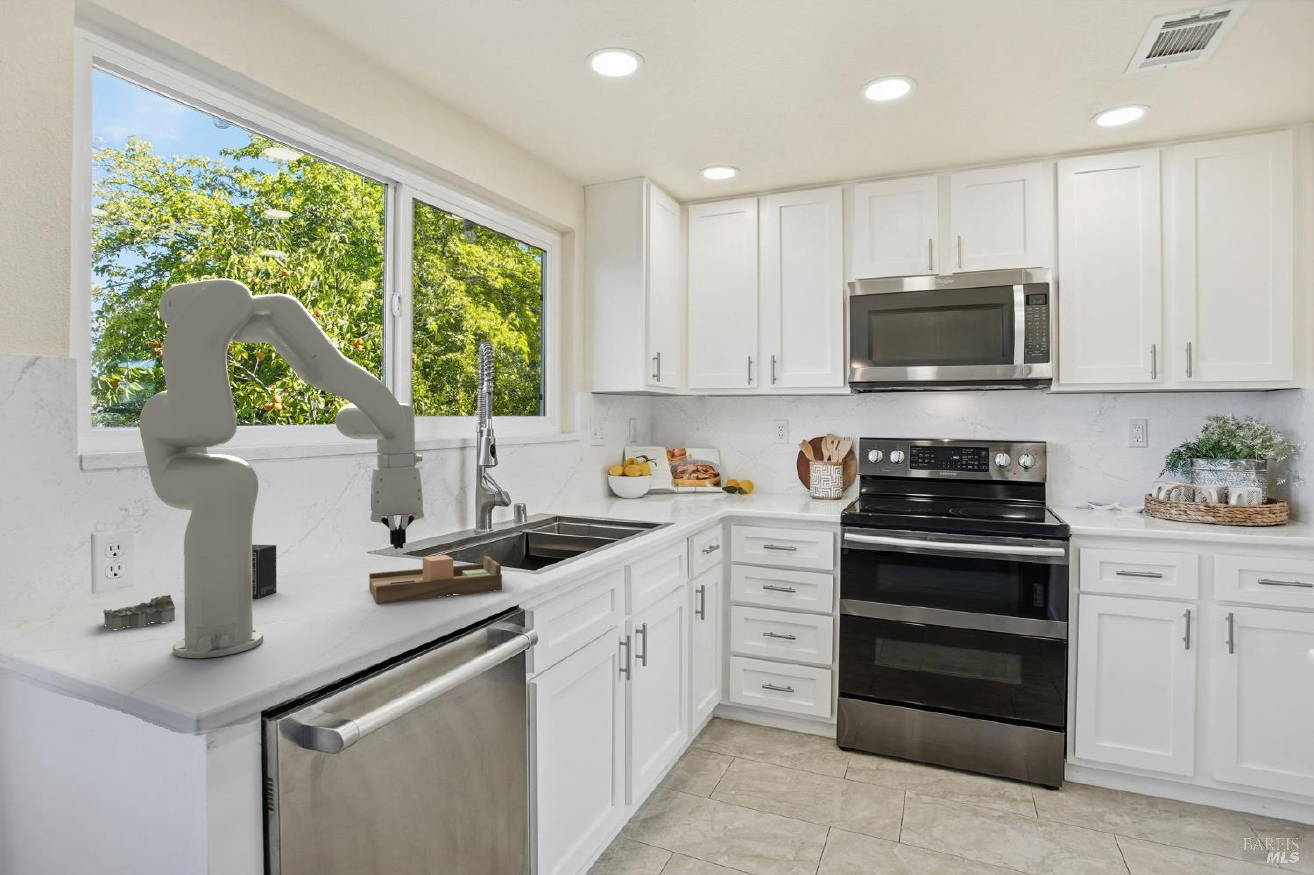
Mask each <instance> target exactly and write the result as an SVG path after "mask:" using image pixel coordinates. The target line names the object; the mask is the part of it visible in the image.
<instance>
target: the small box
mask: <svg viewBox="0 0 1314 875" xmlns="http://www.w3.org/2000/svg"><path fill="white" fill-rule="evenodd" d="M274 593H277V544H252V599H260V598H263V597H265V596H269V595H271V594H274Z"/></svg>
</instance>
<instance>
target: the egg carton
mask: <svg viewBox="0 0 1314 875" xmlns="http://www.w3.org/2000/svg"><path fill="white" fill-rule="evenodd" d="M176 609H177V608H176V606H175V604H174V601H173V598H172V597H171V594H168V595H161V596H157V597H154V598H151V599H150V601H149V602H141V603H140V604H136V605H133V606H125V607H120V608H118V609H114V610H112V608H110V609H104V610H103V611H102V612H103V616H104V627H105V628H104V629H121V630H123V629H124V628H123V627H125V628H128V627H127V626H131V627H137V626H142V627H145V626H144V625H146V624H148V623H151V622H161V623H162V622H168V621H169V622H171V621H170V620H172V621H175V619H176V616H175V614H176V612H175V610H176ZM169 622H168V623H169ZM161 623H160V624H161ZM151 624H152V623H151ZM162 624H163V623H162ZM105 625H106V626H105ZM148 625H149V624H148ZM146 626H147V625H146ZM122 628H123V629H122Z"/></svg>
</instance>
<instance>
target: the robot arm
mask: <svg viewBox="0 0 1314 875" xmlns="http://www.w3.org/2000/svg"><path fill="white" fill-rule="evenodd" d="M158 301H159V302H158V310H159V314H160V317H161V318H162V321H163V322H164V323H165V324H166V326H168V327H169V328H168V330H167V332H166V334H165V337H164V341H163V346H162V354H161V355H162V365H163V374H164V379H165V380H164V381H165V387H166V390H162V391H160V392H157V393H156V394H154V395H152V396H151V397H149V398H148V399H147V401H145V403H144V405H143V407H142V410H140V411H141V412H140V416H139V432H140V438H141V442H142V446H143V451H144V452H143V453H144V454H145V455H144V456H145V460H146V463H147V464H146V466H147V468H148V469H147V470H148V473H149V477H150V478H149V479H150V481H151V484H152V487H153V489H154V492H155V494H156V496H157V497H158V499H160V501H161V502H163V503H164V504H166V505H167V506H169V507H171V508H174V509H178V510H184V511H185V510H186V511H190V512H191V513H190V516H189V518H188V522H187V525H186V528H185V532H184V538H183V556H184V559H183V561H184V563H183V564H184V568H183V569H184V572H183V573H184V574H183V578H184V584H183V585H184V588H183V589H184V637H183V638H181V639H179V640H178V641H176V642H175V643H174V644H173V646H172V654H174V655H175V656H177V657H180V658H185V659H206V658H216V657H217V658H218V657H222V656H223V657H224V656H229V655H235V654H238V653H241V652H245V651H249V650H251V649H253V648H254V649H255V648H256V647H258V646H259V645H260V644H262V642H263V641H264V634H263V632H262V631H260V630H258V629H254V628H253V623H254V622H253V598H252V545H253V525H254V522H253V521H254V514H255V509H256V503H257V499H258V496H259V495H258V494H259V479H258V475H257V473H256V471H255V469H254V468H253V466H251V464H250V463H248V462H247V461H245V460H243V459H242V458H239V457H237V456H234V455H228V454H219V453H218V454H215V453H208V450H207V448H215V447H220V446H222V445H225V444H226V443H229V441H231V440H232V439H233V438H234V436H235V434H236V433H237V428H238V422H237V421H238V420H237V413H236V408H235V403H234V398H233V392H232V388H231V384H230V383H231V382H230V379H229V378H230V377H229V371H228V362H227V361H228V360H227V356H228V350H229V346H230V345H231V342H232V343H233V342H234V343H245V344H261V343H263V344H264V343H269V344H270V345H271V346H272V347H273V348H274V350H276V352H277V353H278V354H279V355H280V356H281V357H282V359H283V360H284V361H285V362H286V363H287V364H288V365H289V367H290V368H291V369H292V371H294V372H295V374H296V375H297V376H298V377H299V378H300V380H302V382H304V383H306V384H307V385H309V386H311V387H314V388H316V389H318V390H321V391H324V392H327V393H330V394H333V395H335V396H337V397H340V398H342V399H344V400H346V401H347V402H349V403H347V404H346V405H343V406H342V407H341V408H340V409H339V410H338V411H337V413H336V416H335V427H336V429H337V430H338V432H339V433H340V434H342V435H343V436H345V437H347V438H348V439H353V440H369V441H370V440H376V449H377V450H376V452H377V454H376V456H377V458H376V459H377V460H376V462H377V464H376V465H377V467H374V468H373V470H372V476H371V488H370V508H371V509H370V511H371V514H370V521H371V522H374V523H380V524H383V525H384V526H386V527H387V528H388V529H389V542H390V545H391V546H392V545H393V546H392V547H393V548H394V549H395V550H397V549H404V544H406V543H407V533H406V530H407V529H408V527H409V526H410V525H411V524H412V523H413V522H414V521H416V520H421V519H423V518H424V517H425V513H424V496H423V488H422V487H423V486H422V479H421V478H422V477H421V474H420V468H419V467H418V466H416V465H417V463H419V462H420V463H421V462H423V455H419V454H417V453H416V438H415V435H416V434H415V432H416V431H415V430H416V429H415V426H416V425H415V409H414V407H413V406H412V404H409V403H404V402H402V403H400V402H399V401H398V400H397V398H396V397H395V395H394V394H393V393H392V391H390V390H391V389H389V388H388V387H387V386H386V384H385V383H384V382H383V381H381V380H380V379H379V378H378V377H376V376H375V375H374V374H373V373H371V372H369V371H368V370H366V369H365V368H364V367H362V366H361V365H359V364H358V363H357V362H354V361H353V360H351V359H349V358H348V357H346V356H345V355H344V354H343V353H342V352H341V351H340V350H339V349H338V348H337V347H336V345H335V344H334V342H333V341H332V340H331V339H330V337H329V336H328V334H327V333H325V331H324V330H323V329H322V327H321V326H320V324H319V323H317V321H316V320H315V318H314V317H313V315H311V313H310V312H309V311H308V310H307V308H306V307H305V306H304V305H303V304H302V302H300V301H299V300H298V299H297V298H296V297H295V296H292V295H289V294H285V293H269V294H259V295H252V292H251V290H250V289H249V288H248V287H247V286H246V285H245V284H244V283H242V282H241V281H239V280H235V279H230V278H214V279H213V278H212V279H204V280H203V279H202V280H198V281H192V282H184V283H179V284H176V285H173V286H171V287H169V288H167V290H165V291H164V292H163V293H162V295H161V296H160V299H159V300H158ZM395 516H400V520H399V521H400V522H399V525H398V527H397V526H396V521H395Z"/></svg>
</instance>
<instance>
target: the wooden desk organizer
mask: <svg viewBox="0 0 1314 875" xmlns="http://www.w3.org/2000/svg"><path fill="white" fill-rule="evenodd" d="M482 557H483V558H482V563H473V564H464V565H453V578H452V579H441V580H430V581H423V568H416V569H404V570H392V571H391V570H390V571H381V572H369V576H368V578H369V580H368V582H369V584H368V586H369V587H368V588H369V589H368V590H369V591H370V594H371V595H372V596H371V597H373V600H374V602H375V603H376V605H377V604H385V603H395V602H394V601H397V602H403V601H413V600H414V601H415V600H424V598H425V599H432V598H431V597H435V598H440V597H439V596H445V597H448V596H447V595H453V594H464V595H471V594H482V592H483V593H489V592H488V591H493V592H495V591H494V590H502V591H503V574H502V567H501V566H502V564H500V563H499V562H497V561H496V560H494V559H493V558H492V557H490V556H488V555H483V556H482Z"/></svg>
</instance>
